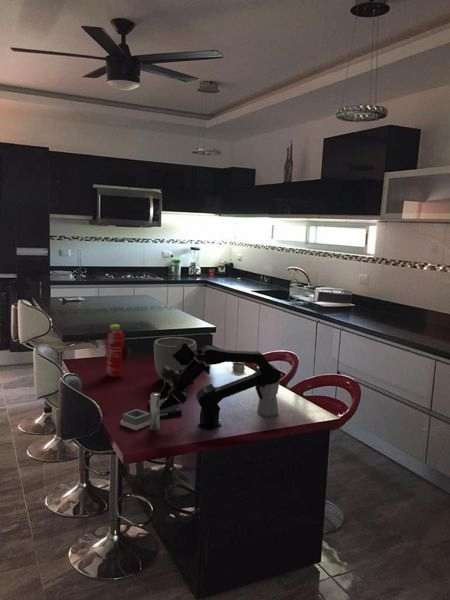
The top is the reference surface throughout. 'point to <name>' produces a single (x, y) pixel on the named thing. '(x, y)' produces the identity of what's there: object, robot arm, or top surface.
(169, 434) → the top surface
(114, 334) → the water bottle
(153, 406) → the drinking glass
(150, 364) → the top surface
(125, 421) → the square open box
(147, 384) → the top surface
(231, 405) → the top surface
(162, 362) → the planter
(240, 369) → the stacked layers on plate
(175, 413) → the disk drive
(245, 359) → the robot arm
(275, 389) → the coffee maker
